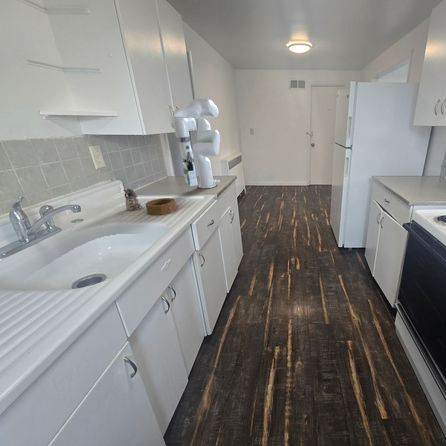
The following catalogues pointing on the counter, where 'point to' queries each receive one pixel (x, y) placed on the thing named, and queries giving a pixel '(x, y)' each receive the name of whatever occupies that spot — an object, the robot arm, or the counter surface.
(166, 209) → the brown bowl
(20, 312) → the counter surface
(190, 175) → the syrup box
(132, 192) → the figurine
